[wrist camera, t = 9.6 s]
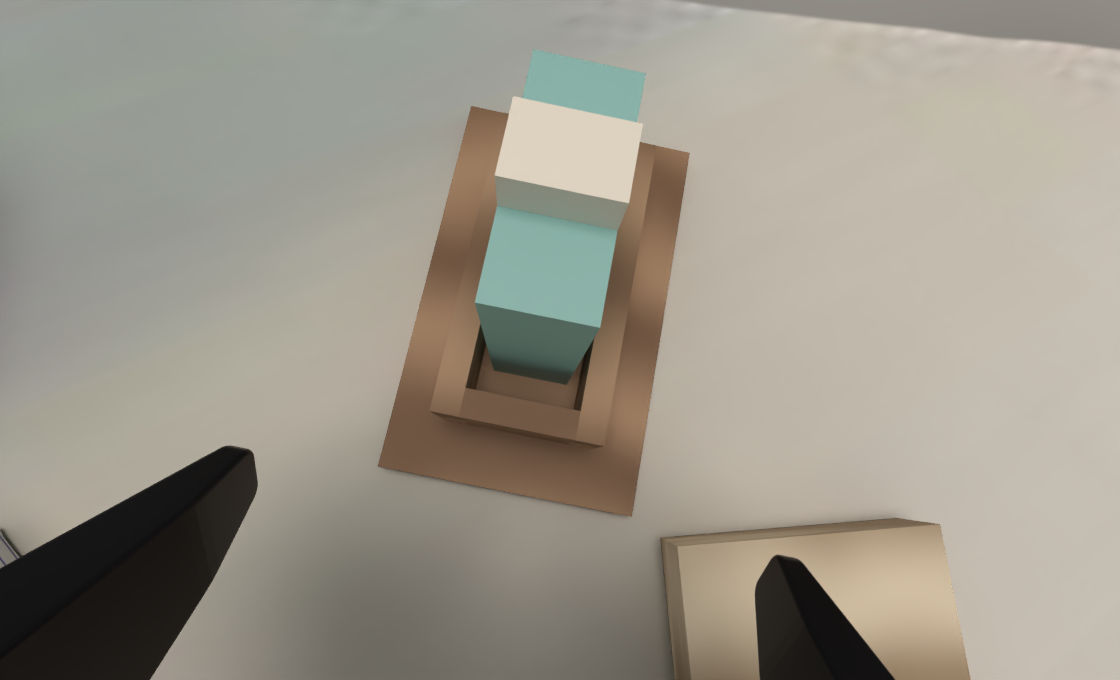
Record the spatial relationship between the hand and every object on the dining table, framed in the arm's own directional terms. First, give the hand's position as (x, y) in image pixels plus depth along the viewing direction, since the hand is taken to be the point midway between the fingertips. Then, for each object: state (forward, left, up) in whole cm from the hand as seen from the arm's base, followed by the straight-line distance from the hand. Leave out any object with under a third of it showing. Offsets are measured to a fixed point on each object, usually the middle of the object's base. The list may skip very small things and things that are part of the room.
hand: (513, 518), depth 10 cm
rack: (+8, -2, -14) cm, 16 cm away
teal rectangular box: (+8, -2, -13) cm, 15 cm away
